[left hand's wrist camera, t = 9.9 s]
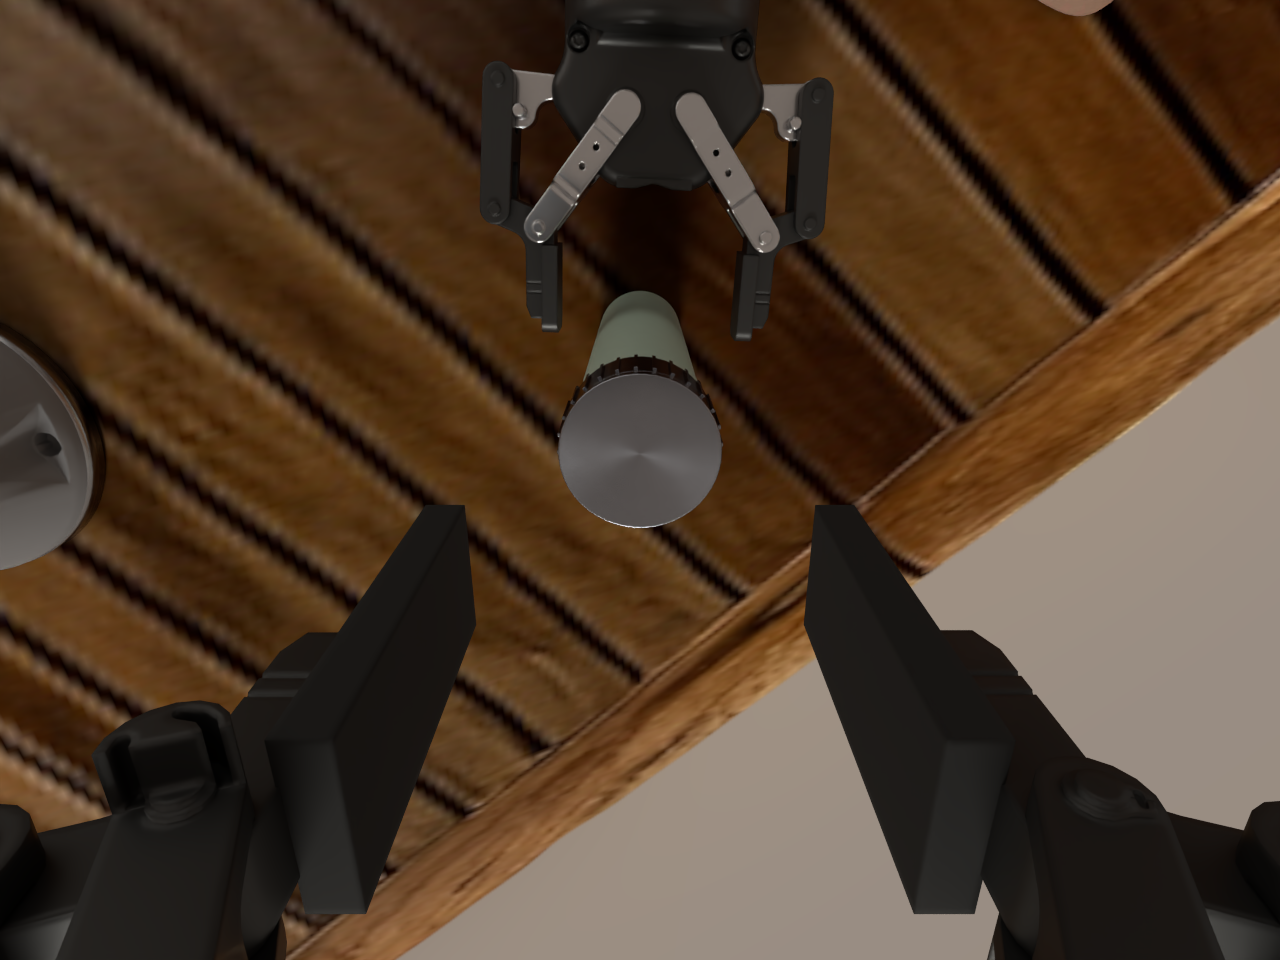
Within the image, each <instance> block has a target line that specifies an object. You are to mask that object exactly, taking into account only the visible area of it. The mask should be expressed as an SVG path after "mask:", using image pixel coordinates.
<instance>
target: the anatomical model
mask: <svg viewBox="0 0 1280 960" xmlns="http://www.w3.org/2000/svg"><path fill="white" fill-rule="evenodd" d="M1039 1H1040V2H1042V3H1043V4H1045V5H1047V6H1049V7H1051V8H1053V9H1055V10H1057V11H1059V12H1062V13H1064V14H1068V15H1074V16H1084V15H1089V14H1092V13H1095V12H1096V11H1098V10H1100V9H1102V8H1103V7H1105V6H1106V5H1108V4H1109V3H1110V2H1112V1H1113V0H1039Z"/></svg>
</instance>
